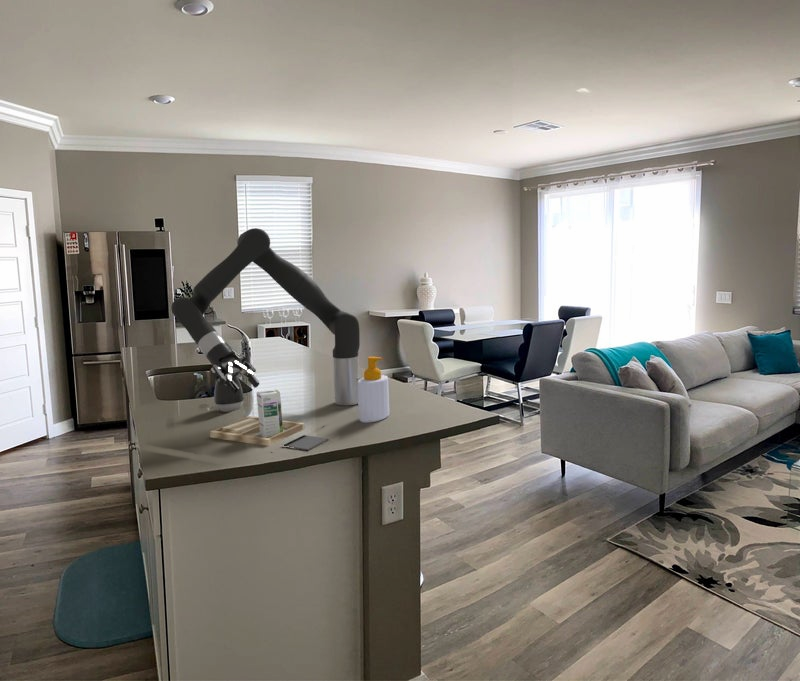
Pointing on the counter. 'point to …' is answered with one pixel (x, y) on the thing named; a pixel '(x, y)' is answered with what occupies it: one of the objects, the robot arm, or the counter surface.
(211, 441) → the counter surface
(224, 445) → the counter surface
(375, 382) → the soap bottle
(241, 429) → the offcut top
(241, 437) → the offcut rack
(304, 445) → the pad
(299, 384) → the counter surface
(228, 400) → the dark grey tapered dome
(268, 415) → the syrup box
